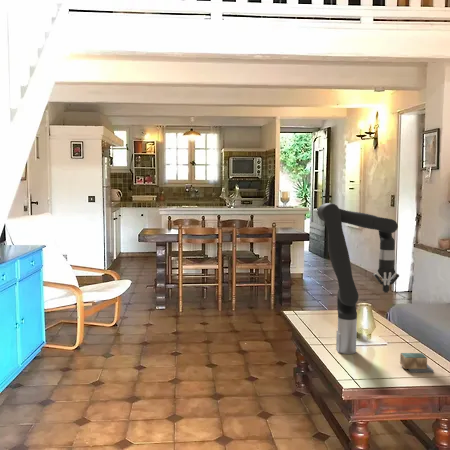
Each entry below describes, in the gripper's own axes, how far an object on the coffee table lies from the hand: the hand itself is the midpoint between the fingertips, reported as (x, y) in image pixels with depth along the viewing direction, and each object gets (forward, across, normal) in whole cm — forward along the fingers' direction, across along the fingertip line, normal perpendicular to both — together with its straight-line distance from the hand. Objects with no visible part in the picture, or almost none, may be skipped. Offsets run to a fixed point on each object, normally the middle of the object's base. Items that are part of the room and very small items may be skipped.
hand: (385, 292), depth 258 cm
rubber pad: (+29, +8, -27) cm, 40 cm away
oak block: (+26, +1, -27) cm, 37 cm away
